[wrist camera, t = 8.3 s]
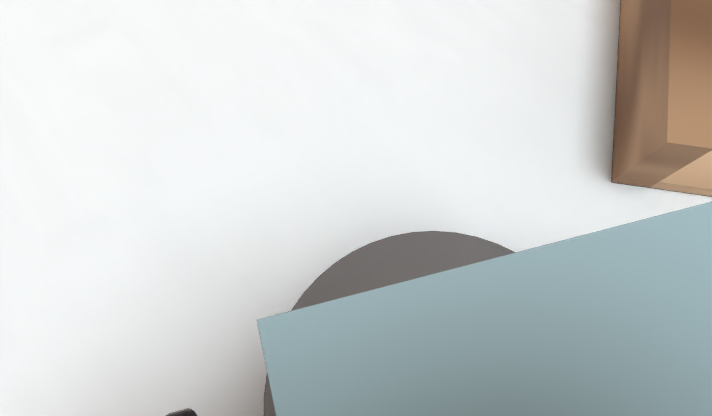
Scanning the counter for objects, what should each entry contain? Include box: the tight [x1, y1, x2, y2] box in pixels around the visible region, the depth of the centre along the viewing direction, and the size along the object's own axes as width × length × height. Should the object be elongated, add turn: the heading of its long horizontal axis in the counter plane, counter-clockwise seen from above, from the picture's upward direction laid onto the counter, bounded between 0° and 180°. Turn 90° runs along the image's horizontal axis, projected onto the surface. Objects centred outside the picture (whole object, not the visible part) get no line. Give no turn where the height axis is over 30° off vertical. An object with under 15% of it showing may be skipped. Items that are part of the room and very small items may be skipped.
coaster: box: [264, 231, 515, 416], centre depth 16 cm, size 10×10×1 cm
